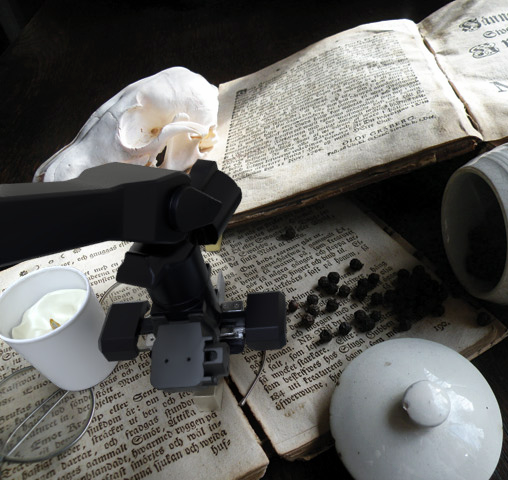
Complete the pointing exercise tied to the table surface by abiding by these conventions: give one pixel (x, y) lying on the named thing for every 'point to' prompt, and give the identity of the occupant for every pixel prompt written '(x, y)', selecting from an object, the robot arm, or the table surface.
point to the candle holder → (56, 326)
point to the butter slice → (214, 246)
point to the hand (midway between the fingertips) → (213, 365)
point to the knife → (213, 394)
